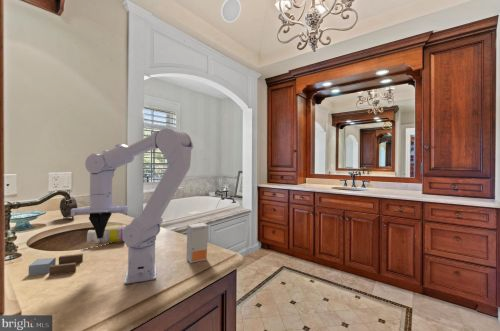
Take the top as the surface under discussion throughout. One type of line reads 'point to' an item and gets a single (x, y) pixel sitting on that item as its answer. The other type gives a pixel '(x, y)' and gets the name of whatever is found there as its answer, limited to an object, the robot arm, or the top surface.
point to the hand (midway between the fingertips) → (100, 237)
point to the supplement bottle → (107, 235)
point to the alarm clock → (67, 207)
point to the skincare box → (197, 242)
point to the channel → (66, 264)
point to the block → (41, 266)
